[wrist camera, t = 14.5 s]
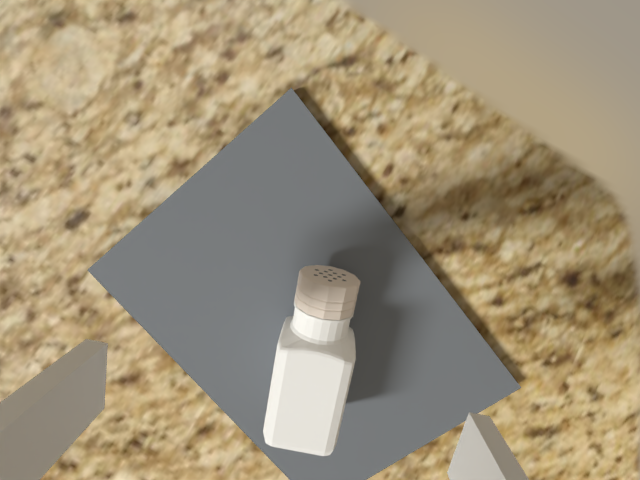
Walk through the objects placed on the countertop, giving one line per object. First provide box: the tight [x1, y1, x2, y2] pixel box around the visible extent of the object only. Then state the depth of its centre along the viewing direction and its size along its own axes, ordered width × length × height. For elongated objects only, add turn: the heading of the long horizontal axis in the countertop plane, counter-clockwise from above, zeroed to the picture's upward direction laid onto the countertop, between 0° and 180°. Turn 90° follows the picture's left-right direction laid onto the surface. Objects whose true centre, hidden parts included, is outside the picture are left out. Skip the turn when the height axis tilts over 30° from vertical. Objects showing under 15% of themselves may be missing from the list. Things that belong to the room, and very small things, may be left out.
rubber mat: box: [88, 88, 521, 480], centre depth 21 cm, size 22×16×1 cm
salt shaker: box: [263, 265, 360, 456], centre depth 18 cm, size 4×4×10 cm
